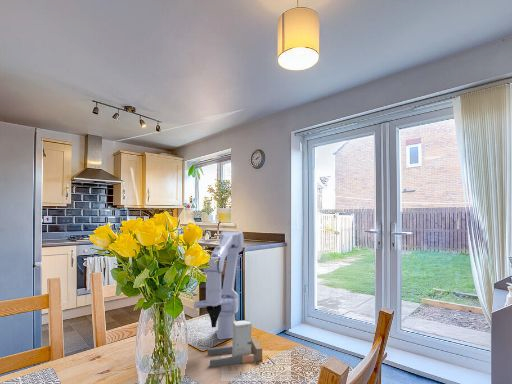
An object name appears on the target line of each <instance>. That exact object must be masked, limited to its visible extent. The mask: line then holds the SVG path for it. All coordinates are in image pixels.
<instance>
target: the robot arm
mask: <svg viewBox="0 0 512 384" xmlns="http://www.w3.org/2000/svg"><path fill="white" fill-rule="evenodd" d="M244 238H245V237H244V233H243V231H242V230H240V231H231V230H230V231H227V230H226V231H224V230H222V231H221V232H220V236H219V242H220V243H219V245H217V246H215V248H213V250H212V252H211V254H210V255H211V259H210V261H209V262H208V264H207V265H212V266H211V267H208V268H203V267H202V269H203V272H204V274H205V273H206V274H207V281H206V280H205V299H203V300H200V301H199V300H198V301H194V302H193V309H195V310H196V309H199V308H200V309H201V308H202V309H203V308H206V311H207V314H208V316H209V319H210V324H211V328H216V327H217V329H215V334H216V337H217V340H227V339H233V322H235V321H236V314H237V313H238V312H239V309H240V295H239V293H238V292H237V291H235V282H236V281H235V280H236V275H237V274H236V273H237V265H238V258H239V253H241V252H242V251H243V248H244V240H245V239H244ZM215 260H219V261H218V262H216V263H214V261H215ZM225 260H226V263H225ZM224 266H225V270H224ZM223 271H224V276H223V277H224V278H223V284H222V272H223Z"/></svg>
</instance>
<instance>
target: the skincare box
mask: <svg viewBox="0 0 512 384" xmlns="http://www.w3.org/2000/svg"><path fill="white" fill-rule="evenodd" d="M252 325H253V324H252V323H251V321H250V320H248V319H246V320H238V321H236V320H235V322H233V338H232V340H231V341H232V345H231V346H232V353H231V355H232V356H231V357H233V356H242V355H250V354H252V351H251V338H252Z"/></svg>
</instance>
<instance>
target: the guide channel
mask: <svg viewBox="0 0 512 384" xmlns="http://www.w3.org/2000/svg"><path fill="white" fill-rule="evenodd" d="M223 354H225V355H226V354H232V345H227V346H219V347H218V346H217V347H211V348H207V356H214V355H223ZM260 361H263V347H262V346H261V343H260V342H259V341H258V339H257V337H251V354H250V355H242V356H225V357H218V358H210V359H209V367H210V368H212V367H219V366H228V365H236V364H243V363H253V362H260Z"/></svg>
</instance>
